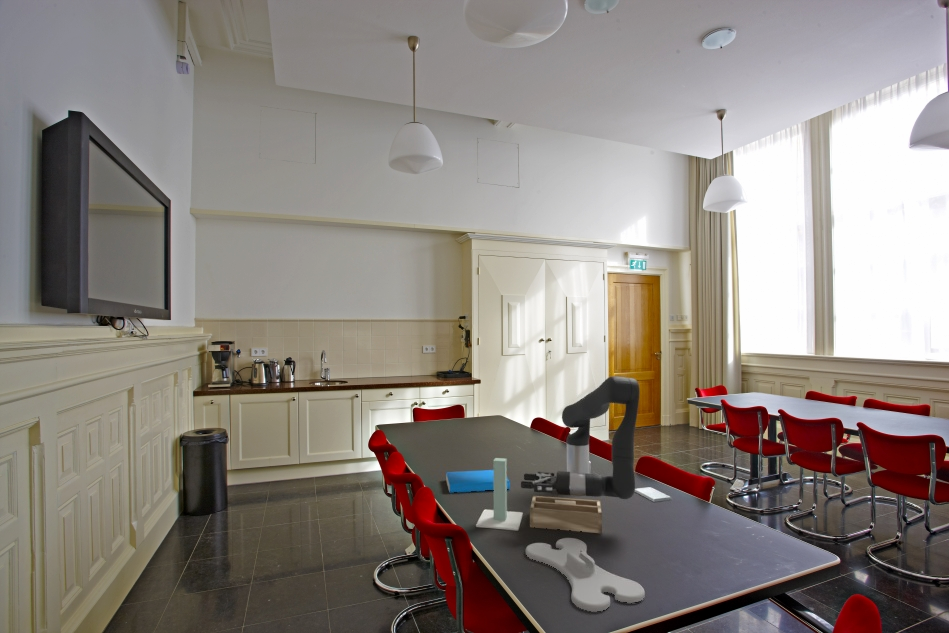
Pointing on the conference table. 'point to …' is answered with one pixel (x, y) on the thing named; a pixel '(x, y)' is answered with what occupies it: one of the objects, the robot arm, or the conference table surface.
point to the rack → (566, 514)
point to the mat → (509, 524)
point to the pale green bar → (500, 488)
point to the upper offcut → (565, 502)
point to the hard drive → (652, 494)
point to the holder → (585, 575)
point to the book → (471, 481)
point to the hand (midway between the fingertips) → (522, 480)
